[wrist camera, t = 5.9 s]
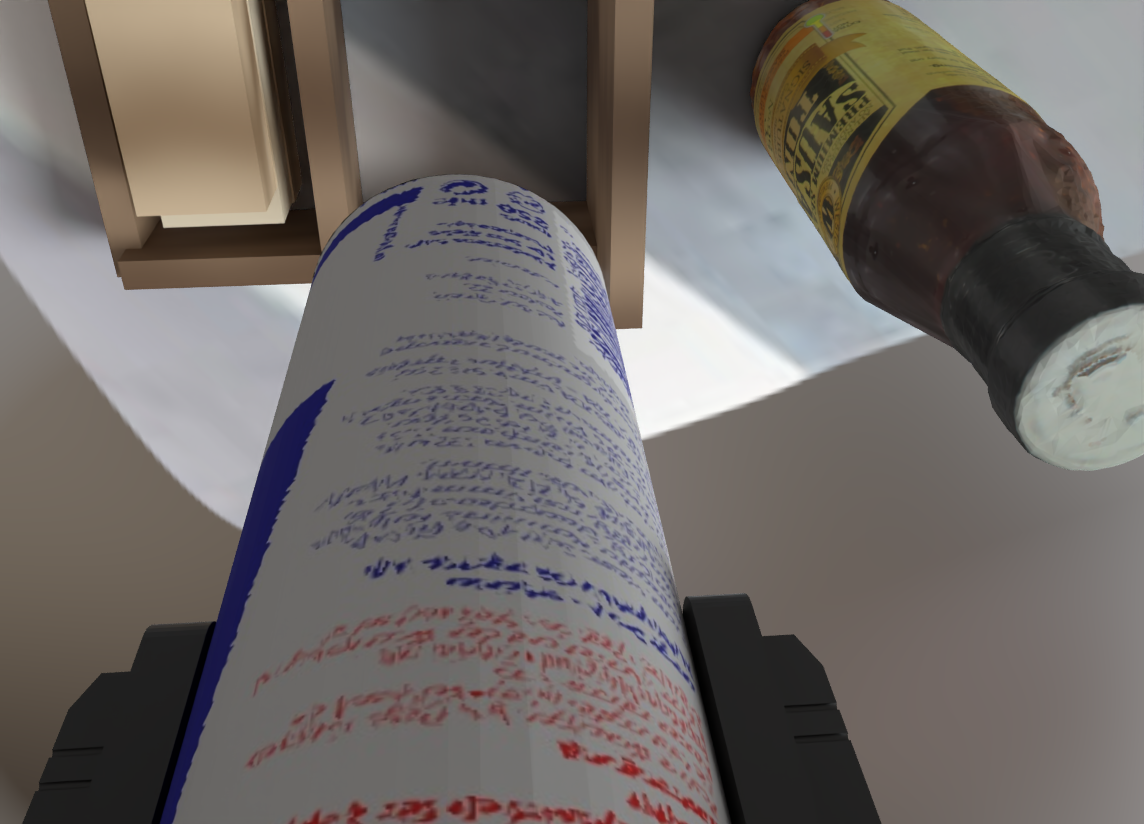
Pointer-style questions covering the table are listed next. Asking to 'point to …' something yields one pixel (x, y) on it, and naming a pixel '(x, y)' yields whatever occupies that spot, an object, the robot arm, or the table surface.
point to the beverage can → (451, 550)
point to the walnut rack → (326, 103)
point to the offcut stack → (200, 108)
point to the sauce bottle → (960, 219)
